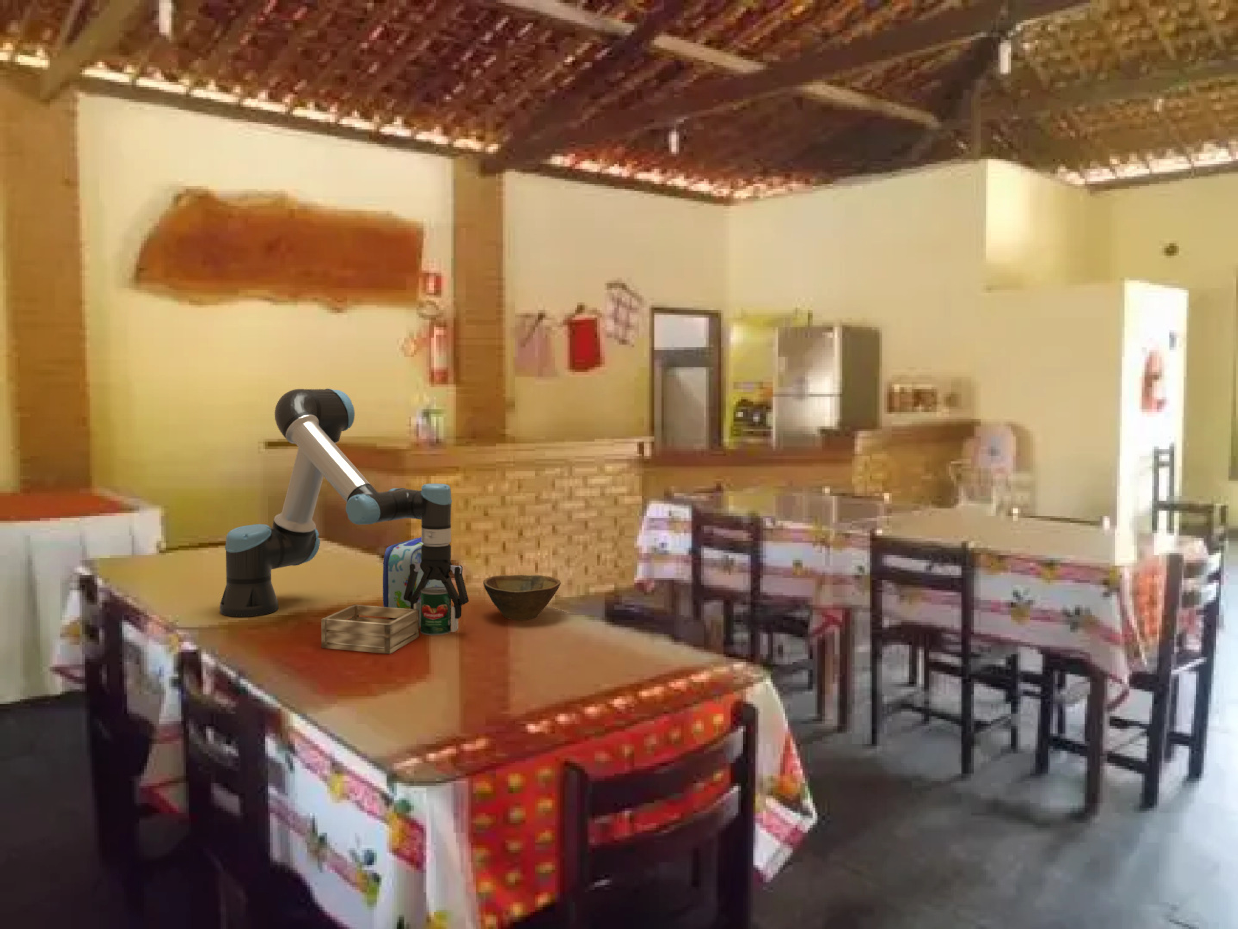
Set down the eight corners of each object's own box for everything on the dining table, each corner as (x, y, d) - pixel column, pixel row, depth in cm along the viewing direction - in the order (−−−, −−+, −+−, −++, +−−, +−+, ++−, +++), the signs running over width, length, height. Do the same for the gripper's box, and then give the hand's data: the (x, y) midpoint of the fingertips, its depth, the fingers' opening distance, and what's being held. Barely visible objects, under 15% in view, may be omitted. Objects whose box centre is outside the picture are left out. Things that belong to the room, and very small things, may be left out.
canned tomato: (425, 636, 240) (425, 594, 239) (416, 629, 247) (416, 588, 246) (455, 633, 244) (455, 591, 243) (446, 626, 251) (446, 585, 250)
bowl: (575, 612, 269) (576, 577, 268) (535, 630, 249) (536, 593, 248) (509, 603, 278) (510, 570, 278) (465, 620, 258) (465, 584, 257)
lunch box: (416, 600, 280) (417, 530, 278) (451, 602, 278) (451, 532, 276) (377, 621, 255) (377, 544, 253) (414, 624, 253) (414, 546, 251)
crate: (321, 647, 229) (321, 619, 228) (354, 631, 244) (354, 604, 244) (389, 653, 225) (389, 625, 224) (418, 636, 240) (418, 609, 240)
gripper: (389, 543, 243) (389, 629, 245) (471, 548, 238) (470, 636, 240) (402, 539, 250) (402, 622, 252) (482, 544, 245) (481, 628, 247)
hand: (435, 629), depth 246 cm, fingers open, 10 cm apart
